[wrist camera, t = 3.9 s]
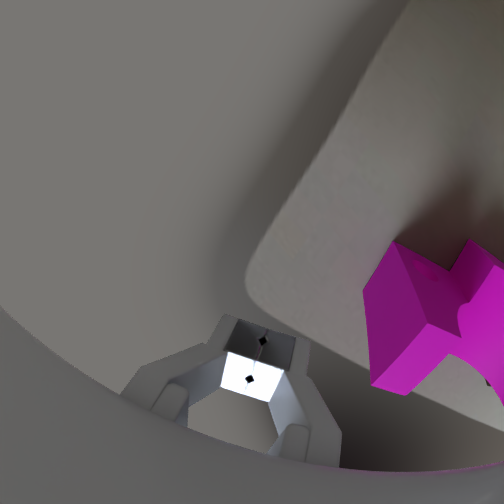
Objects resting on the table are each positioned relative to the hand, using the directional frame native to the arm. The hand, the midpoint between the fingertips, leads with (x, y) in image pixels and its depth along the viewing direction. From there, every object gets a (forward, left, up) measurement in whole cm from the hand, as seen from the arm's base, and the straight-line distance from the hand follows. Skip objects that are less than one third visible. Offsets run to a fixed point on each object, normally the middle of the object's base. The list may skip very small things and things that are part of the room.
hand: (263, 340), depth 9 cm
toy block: (-1, +13, -9) cm, 15 cm away
